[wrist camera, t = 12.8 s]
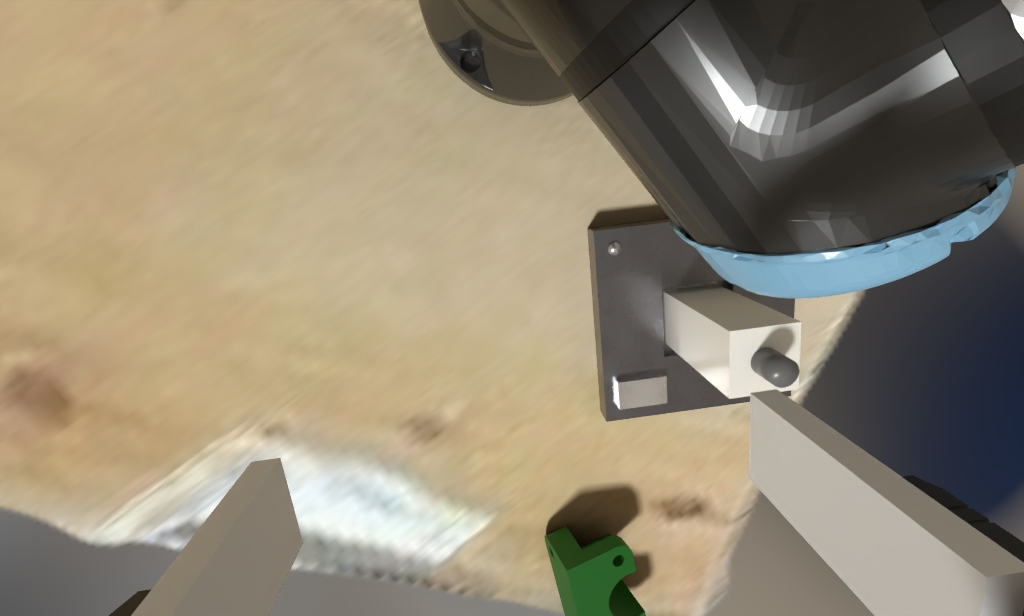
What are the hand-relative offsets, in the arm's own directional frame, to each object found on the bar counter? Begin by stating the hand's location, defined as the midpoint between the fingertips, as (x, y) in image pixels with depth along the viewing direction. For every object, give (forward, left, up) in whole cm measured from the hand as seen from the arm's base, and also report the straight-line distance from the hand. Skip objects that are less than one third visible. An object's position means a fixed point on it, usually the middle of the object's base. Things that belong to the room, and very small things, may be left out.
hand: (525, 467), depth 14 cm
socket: (+5, +16, -27) cm, 32 cm away
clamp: (+29, +6, -27) cm, 40 cm away
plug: (+5, +16, -26) cm, 31 cm away
